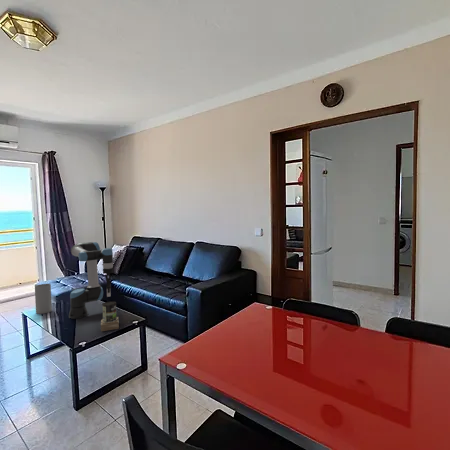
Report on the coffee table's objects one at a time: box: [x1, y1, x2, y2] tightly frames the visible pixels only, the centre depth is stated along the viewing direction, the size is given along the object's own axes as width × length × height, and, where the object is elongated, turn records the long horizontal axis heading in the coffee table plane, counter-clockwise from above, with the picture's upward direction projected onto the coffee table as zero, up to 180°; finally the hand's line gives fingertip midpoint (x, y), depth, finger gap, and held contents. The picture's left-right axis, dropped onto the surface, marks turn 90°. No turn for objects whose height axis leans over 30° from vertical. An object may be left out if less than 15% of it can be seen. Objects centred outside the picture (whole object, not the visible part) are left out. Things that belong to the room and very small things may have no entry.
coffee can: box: [101, 300, 117, 323], centre depth 231 cm, size 10×10×14 cm
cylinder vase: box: [34, 283, 53, 315], centre depth 268 cm, size 12×12×25 cm
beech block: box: [100, 316, 120, 332], centre depth 232 cm, size 13×13×5 cm
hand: (108, 294), depth 230 cm, fingers open, 13 cm apart
